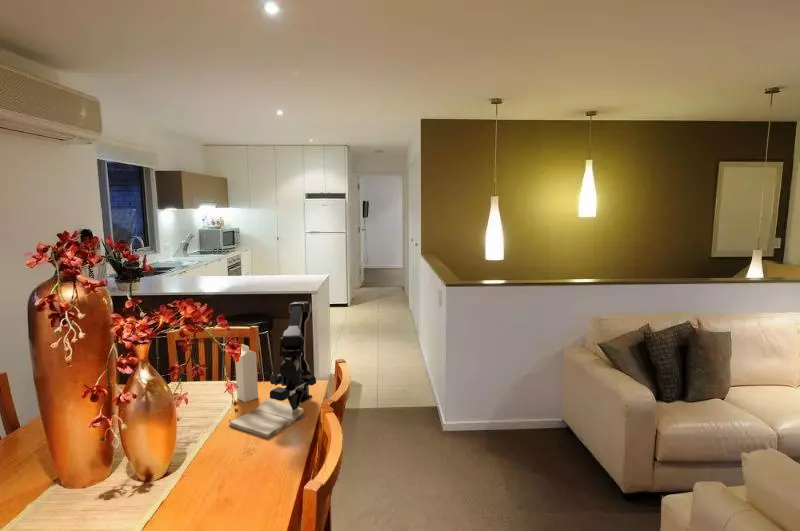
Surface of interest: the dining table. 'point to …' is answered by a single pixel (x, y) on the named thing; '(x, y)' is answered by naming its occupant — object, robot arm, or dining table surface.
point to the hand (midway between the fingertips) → (294, 409)
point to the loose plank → (280, 409)
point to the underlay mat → (275, 433)
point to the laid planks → (261, 423)
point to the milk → (246, 375)
